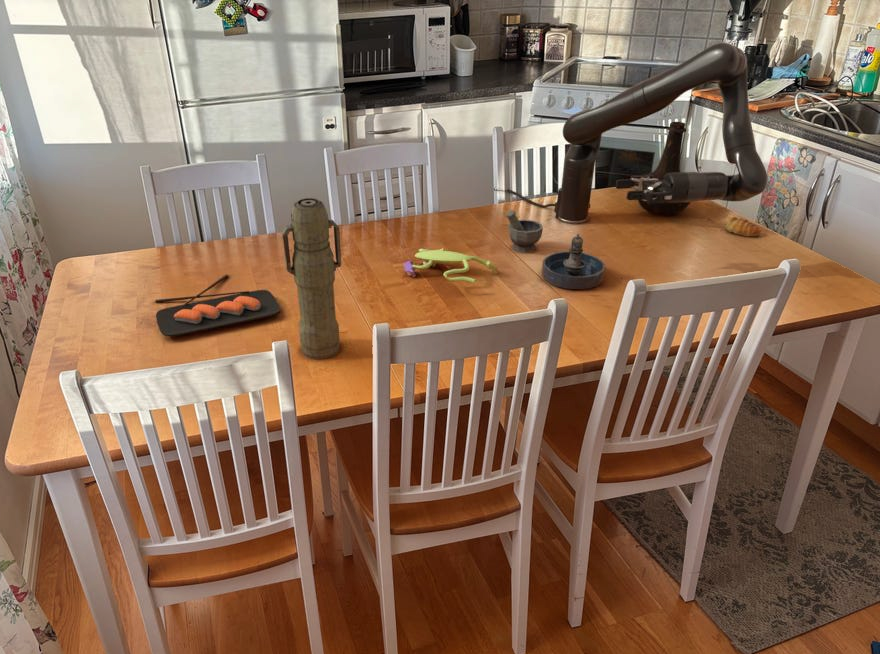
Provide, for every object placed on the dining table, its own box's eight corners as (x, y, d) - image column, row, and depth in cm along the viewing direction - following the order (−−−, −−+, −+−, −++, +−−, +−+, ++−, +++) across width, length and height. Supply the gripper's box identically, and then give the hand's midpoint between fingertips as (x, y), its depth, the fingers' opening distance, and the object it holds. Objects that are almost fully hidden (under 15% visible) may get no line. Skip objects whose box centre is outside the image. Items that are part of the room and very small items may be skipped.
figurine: (464, 300, 185) (465, 281, 182) (388, 271, 201) (387, 252, 198) (506, 276, 197) (508, 257, 194) (431, 250, 212) (431, 232, 209)
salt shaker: (559, 271, 198) (564, 229, 191) (580, 270, 198) (585, 228, 192) (565, 280, 193) (570, 238, 186) (587, 279, 193) (592, 237, 187)
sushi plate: (163, 344, 169) (160, 330, 167) (146, 291, 192) (144, 278, 190) (284, 318, 179) (283, 305, 177) (254, 271, 202) (253, 258, 200)
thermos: (290, 345, 168) (273, 199, 149) (338, 334, 172) (328, 191, 153) (301, 364, 161) (285, 213, 142) (351, 352, 165) (342, 204, 146)
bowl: (530, 279, 195) (531, 265, 193) (560, 259, 206) (562, 246, 203) (584, 297, 186) (586, 282, 184) (613, 275, 197) (615, 262, 194)
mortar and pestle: (532, 240, 218) (536, 201, 211) (546, 252, 210) (550, 212, 204) (497, 244, 215) (500, 205, 209) (509, 257, 208) (512, 217, 201)
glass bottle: (649, 223, 228) (665, 132, 213) (623, 203, 242) (636, 117, 228) (701, 218, 231) (720, 128, 216) (672, 199, 245) (688, 114, 230)
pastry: (763, 233, 219) (766, 221, 217) (753, 240, 215) (756, 228, 213) (732, 225, 225) (735, 213, 223) (722, 231, 221) (725, 219, 219)
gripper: (675, 164, 189) (614, 166, 188) (699, 181, 177) (633, 184, 176) (670, 192, 193) (610, 194, 192) (693, 211, 181) (629, 214, 180)
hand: (621, 189), depth 184 cm, fingers open, 8 cm apart
